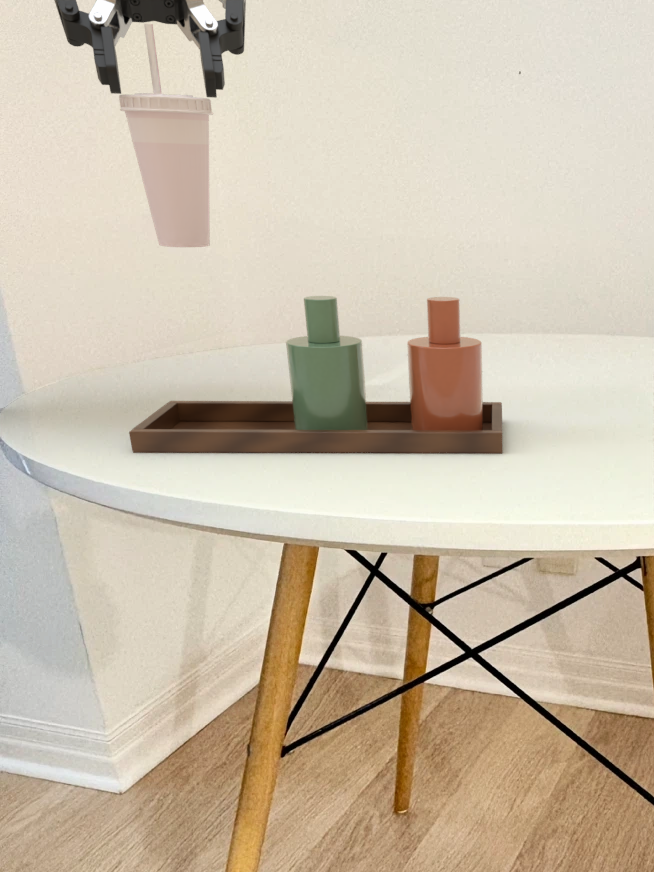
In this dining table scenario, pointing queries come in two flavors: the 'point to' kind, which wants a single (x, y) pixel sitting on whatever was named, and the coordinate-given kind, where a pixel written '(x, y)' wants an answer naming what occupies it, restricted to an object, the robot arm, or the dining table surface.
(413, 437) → the tray
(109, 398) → the dining table surface
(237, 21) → the robot arm
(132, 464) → the dining table surface
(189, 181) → the smoothie
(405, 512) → the dining table surface
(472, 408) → the ceramic bottles
